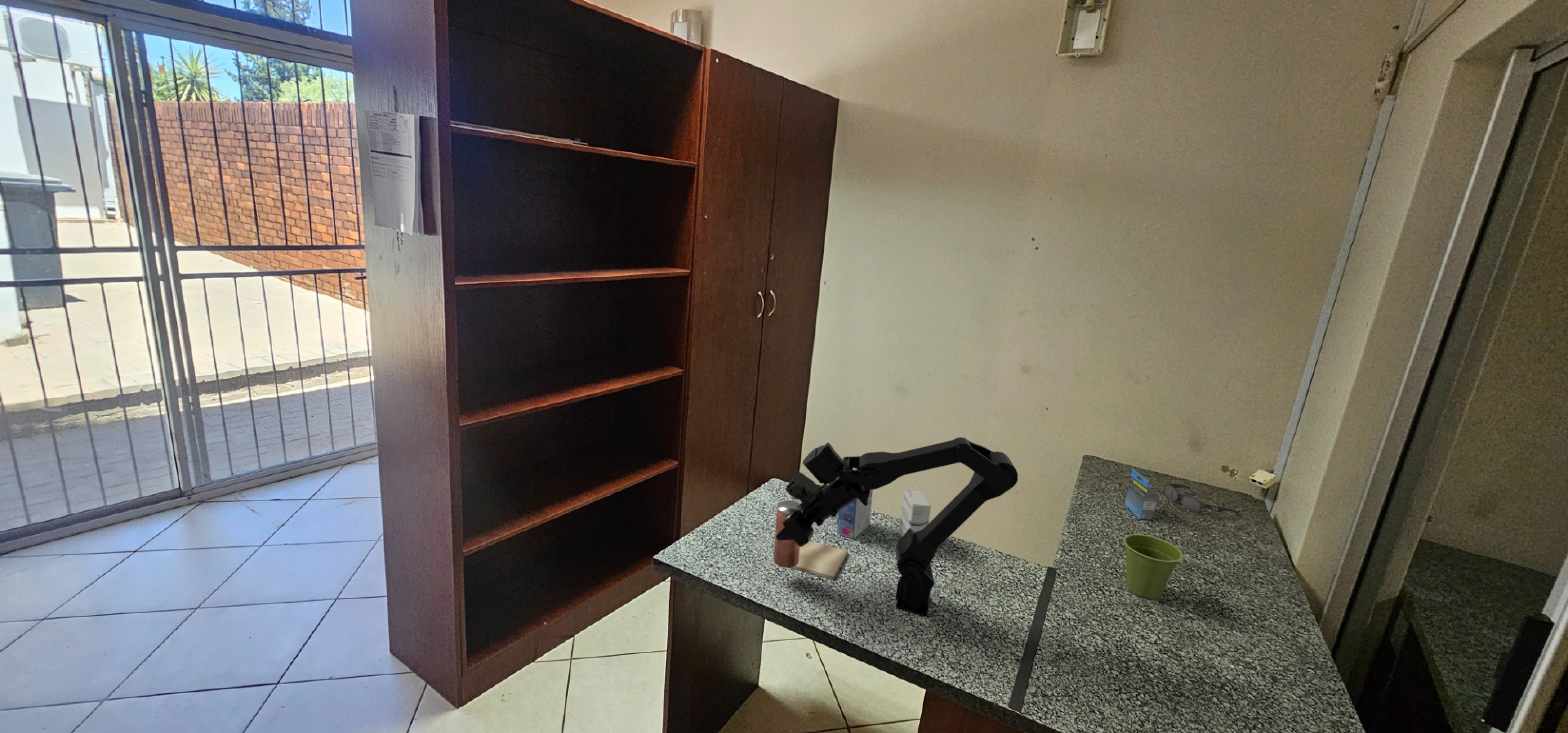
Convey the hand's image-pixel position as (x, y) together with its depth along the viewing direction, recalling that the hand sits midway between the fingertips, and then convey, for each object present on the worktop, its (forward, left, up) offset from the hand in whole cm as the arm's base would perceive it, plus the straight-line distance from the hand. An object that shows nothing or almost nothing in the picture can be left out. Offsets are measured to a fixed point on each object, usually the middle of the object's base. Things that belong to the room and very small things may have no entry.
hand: (782, 531), depth 133 cm
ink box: (-24, -31, -11) cm, 41 cm away
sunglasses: (-103, -97, -12) cm, 142 cm away
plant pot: (-77, -34, -11) cm, 85 cm away
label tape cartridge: (-83, -80, -11) cm, 116 cm away
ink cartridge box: (-9, -29, -11) cm, 32 cm away
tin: (-1, 0, -7) cm, 7 cm away
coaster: (-5, -10, -11) cm, 16 cm away
